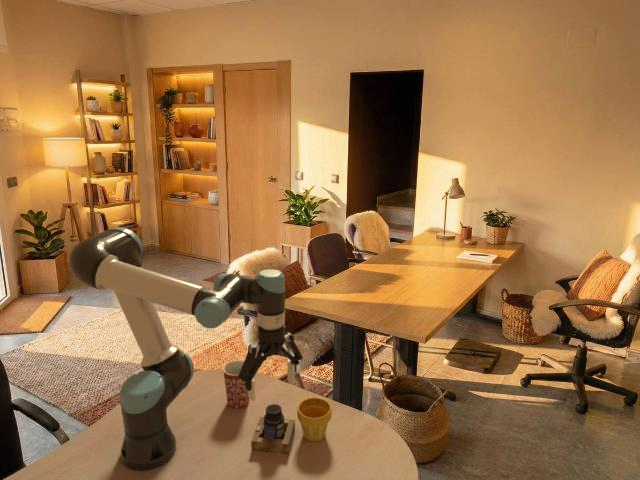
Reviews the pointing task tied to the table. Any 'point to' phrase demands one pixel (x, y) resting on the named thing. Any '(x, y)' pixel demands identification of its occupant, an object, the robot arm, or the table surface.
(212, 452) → the table surface
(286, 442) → the wooden tray
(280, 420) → the pill bottle
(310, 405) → the plant pot
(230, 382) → the mug
